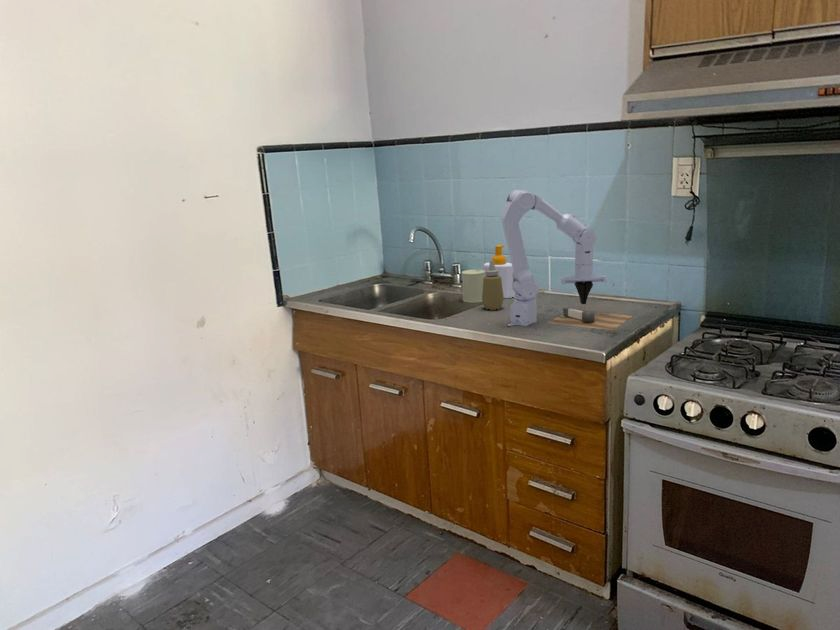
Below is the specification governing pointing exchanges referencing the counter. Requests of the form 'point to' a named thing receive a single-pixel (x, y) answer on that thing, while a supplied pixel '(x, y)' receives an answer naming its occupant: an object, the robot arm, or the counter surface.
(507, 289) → the soap bottle
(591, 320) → the peg
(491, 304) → the squeeze bottle
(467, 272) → the can
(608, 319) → the board
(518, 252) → the robot arm
